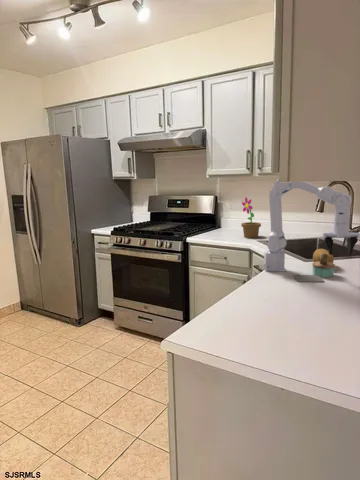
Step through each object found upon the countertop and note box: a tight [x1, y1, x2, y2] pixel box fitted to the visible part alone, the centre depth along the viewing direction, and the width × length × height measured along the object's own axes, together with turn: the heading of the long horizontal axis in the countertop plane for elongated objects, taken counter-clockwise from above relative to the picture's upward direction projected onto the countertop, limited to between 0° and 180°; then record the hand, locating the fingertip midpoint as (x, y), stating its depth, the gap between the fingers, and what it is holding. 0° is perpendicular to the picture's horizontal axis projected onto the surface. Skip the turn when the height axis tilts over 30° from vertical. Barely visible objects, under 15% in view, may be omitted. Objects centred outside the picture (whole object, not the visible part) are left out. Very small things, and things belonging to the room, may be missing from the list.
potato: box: [312, 248, 335, 264], centre depth 158 cm, size 10×14×8 cm
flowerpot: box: [241, 196, 262, 239], centre depth 241 cm, size 14×14×30 cm
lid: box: [312, 253, 336, 269], centre depth 144 cm, size 9×9×6 cm
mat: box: [292, 274, 325, 283], centre depth 140 cm, size 11×9×1 cm
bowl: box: [312, 265, 335, 278], centre depth 146 cm, size 8×8×4 cm
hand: (339, 254), depth 139 cm, fingers open, 7 cm apart
